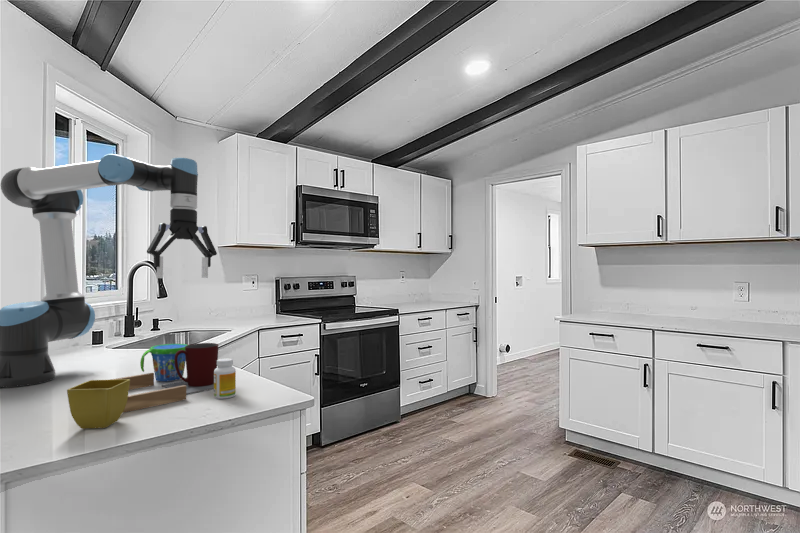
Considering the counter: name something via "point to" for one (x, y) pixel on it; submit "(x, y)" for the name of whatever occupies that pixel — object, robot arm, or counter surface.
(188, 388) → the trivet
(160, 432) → the counter surface
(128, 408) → the oak caddy
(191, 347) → the mug
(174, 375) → the snack cup
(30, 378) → the robot arm
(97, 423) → the flower pot
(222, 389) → the supplement bottle
